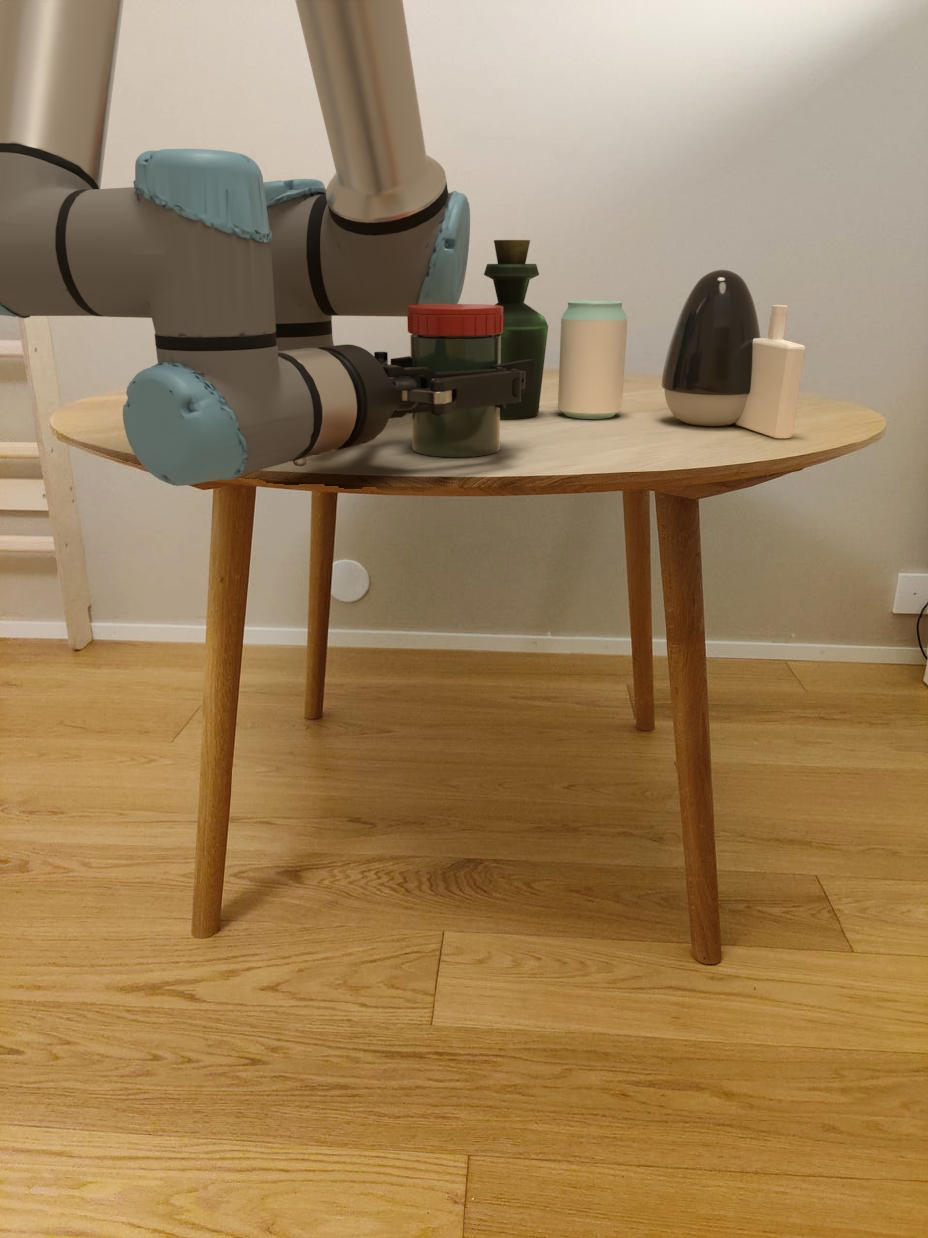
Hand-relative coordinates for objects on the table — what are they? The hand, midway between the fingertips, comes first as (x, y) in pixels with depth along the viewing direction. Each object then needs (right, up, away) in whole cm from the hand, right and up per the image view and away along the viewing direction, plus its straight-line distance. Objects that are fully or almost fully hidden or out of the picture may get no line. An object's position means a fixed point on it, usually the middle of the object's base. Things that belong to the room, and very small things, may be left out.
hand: (481, 371), depth 85 cm
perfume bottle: (+28, -4, +7) cm, 30 cm away
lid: (-2, +4, -5) cm, 7 cm away
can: (+12, 0, +17) cm, 21 cm away
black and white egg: (+24, -2, +13) cm, 28 cm away
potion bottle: (+3, 0, +17) cm, 18 cm away
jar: (-2, -7, -1) cm, 8 cm away
